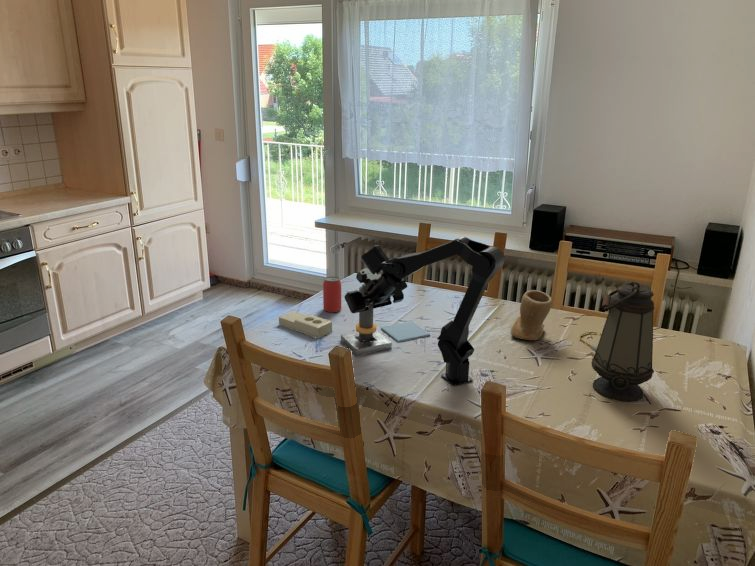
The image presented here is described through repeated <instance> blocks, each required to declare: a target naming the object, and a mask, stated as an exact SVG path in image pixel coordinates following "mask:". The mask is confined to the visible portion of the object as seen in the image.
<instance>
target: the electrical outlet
mask: <svg viewBox="0 0 755 566" xmlns="http://www.w3.org/2000/svg"><path fill="white" fill-rule="evenodd" d="M278 325H279V326H281V327H285V328H288V329H291V330H293V331H296V332H298V331H299V333H301V332H302V333H301V334H305V335H307V336H309V335H310V337H312V338H315V337H316V339H320V338H322V337H324V336H327V335H328V334H330V332H331V333H332V332H333V321H331V320H329V319H325V318H322V317H320V316H316V315H313V314H310V313H308V314H304V313H301V312H298V311H295V310H293V311H289V312H288V313H286V314H283V315H281V316H278ZM319 337H320V338H319Z"/></svg>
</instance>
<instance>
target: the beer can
mask: <svg viewBox="0 0 755 566" xmlns="http://www.w3.org/2000/svg"><path fill="white" fill-rule="evenodd" d="M322 297H323V298H322V299H323V300H322V302H323V305H322V306H323V308H322V309H323V310H324V311H325V312H327V313H337V312H340V311H341V309H342V281H341V279H340V277H338V276H332V275H331V276H326V277H324V281H323V283H322Z"/></svg>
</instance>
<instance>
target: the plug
mask: <svg viewBox="0 0 755 566" xmlns="http://www.w3.org/2000/svg"><path fill="white" fill-rule="evenodd" d="M365 287H366V285H365V284H364V283H363V284H362V283H361V286H359V288H358V291H359V292H360V293H362V295H363V297H364V296H365V295H364V294H365V293H368V291H366V290H365ZM369 301H370V300H369ZM368 308H369V310H367V311H363V312H358V320H359V321H358V323H357V324H356V325H355V332H358V333H359V337H360V338H361V339H371V338H373V333H374V332H376V330H377V324H376V323H375V322H374V309H373V303H371V304H370V305H369V306H368Z"/></svg>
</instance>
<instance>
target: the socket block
mask: <svg viewBox="0 0 755 566" xmlns="http://www.w3.org/2000/svg"><path fill="white" fill-rule="evenodd" d="M369 340H370V341H369ZM340 341H341V342H342V343H343V344H344V345H345V346H346V347H347V348H348V349H349V348H350V349H351V350H352V351H351V350H350V349H349V350H350V351H351V352H352V353H353V354H354V355H355V356H362V355H367V354H370V353H371V354H372V353H375V352H381V351H385V350H390V349H393V342H392V341H391V340H389V338H387V337H386V336H385V335H383V334H382V333H381V332H379V331H378V330H377V329H376V332H374V333H373V338H371V339H361V338H360V337H359V333H358V332H357V331H353V332H349V333H344V334H340ZM363 341H364V342H363ZM365 341H367V342H365ZM362 342H363V343H362Z"/></svg>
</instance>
